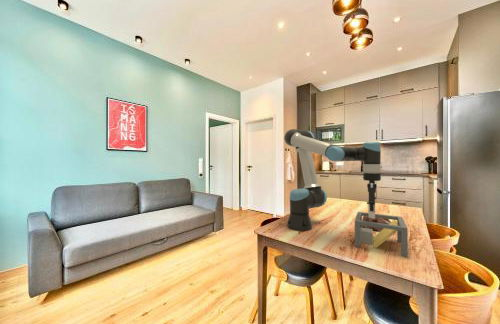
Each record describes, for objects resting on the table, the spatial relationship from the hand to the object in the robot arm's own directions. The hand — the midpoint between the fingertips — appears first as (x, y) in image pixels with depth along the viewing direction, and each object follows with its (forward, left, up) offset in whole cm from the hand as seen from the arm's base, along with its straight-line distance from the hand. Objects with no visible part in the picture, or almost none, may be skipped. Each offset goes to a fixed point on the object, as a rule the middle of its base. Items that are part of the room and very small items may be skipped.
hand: (372, 214), depth 99 cm
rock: (+2, +24, -15) cm, 28 cm away
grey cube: (0, 0, -11) cm, 11 cm away
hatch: (+6, 0, -9) cm, 10 cm away
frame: (+3, 0, -14) cm, 15 cm away
